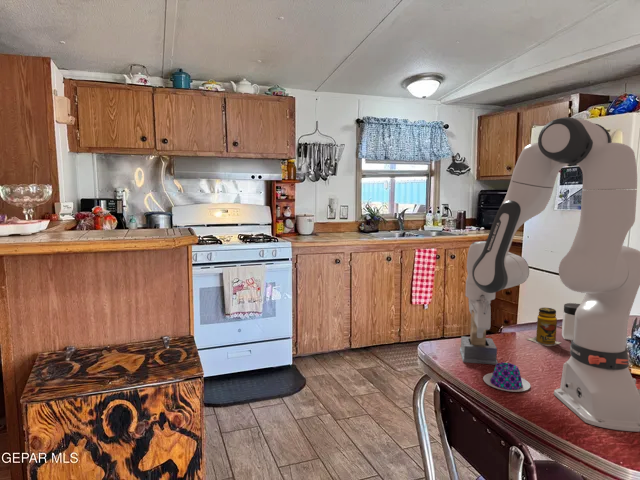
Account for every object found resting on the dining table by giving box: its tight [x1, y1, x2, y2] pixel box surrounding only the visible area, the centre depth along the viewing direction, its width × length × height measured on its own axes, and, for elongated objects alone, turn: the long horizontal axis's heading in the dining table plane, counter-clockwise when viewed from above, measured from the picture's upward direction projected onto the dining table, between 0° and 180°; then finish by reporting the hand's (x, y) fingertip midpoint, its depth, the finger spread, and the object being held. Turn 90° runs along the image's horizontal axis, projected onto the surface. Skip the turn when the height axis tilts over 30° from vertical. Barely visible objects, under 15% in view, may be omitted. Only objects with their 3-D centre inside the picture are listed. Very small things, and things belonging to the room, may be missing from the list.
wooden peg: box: [469, 310, 487, 346], centre depth 136 cm, size 4×4×12 cm
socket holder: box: [459, 336, 499, 366], centre depth 137 cm, size 10×10×5 cm
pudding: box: [482, 362, 531, 393], centre depth 118 cm, size 12×12×5 cm
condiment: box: [526, 307, 561, 347], centre depth 151 cm, size 7×8×12 cm
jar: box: [561, 302, 581, 342], centre depth 155 cm, size 9×8×12 cm
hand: (478, 334), depth 136 cm, fingers closed on wooden peg, 4 cm apart
